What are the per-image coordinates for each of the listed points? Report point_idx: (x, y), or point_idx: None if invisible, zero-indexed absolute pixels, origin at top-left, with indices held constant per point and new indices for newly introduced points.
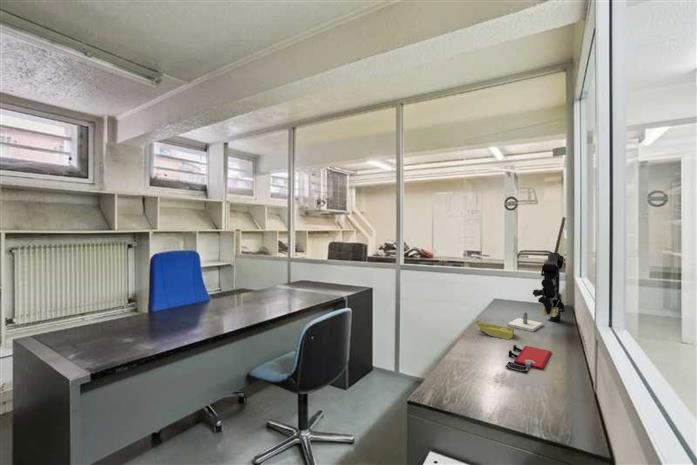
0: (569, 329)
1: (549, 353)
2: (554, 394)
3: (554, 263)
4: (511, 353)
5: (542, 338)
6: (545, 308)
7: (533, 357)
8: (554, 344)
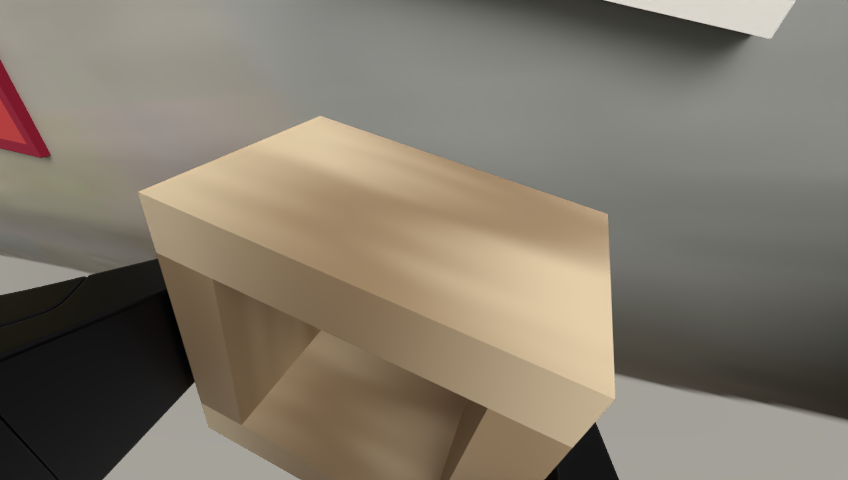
0: (629, 342)
1: (11, 147)
2: None
3: None
4: None
5: (203, 86)
6: (92, 280)
7: None
8: (164, 176)
